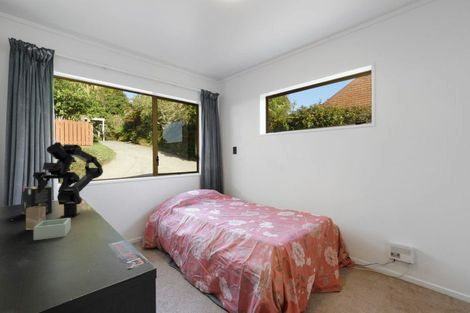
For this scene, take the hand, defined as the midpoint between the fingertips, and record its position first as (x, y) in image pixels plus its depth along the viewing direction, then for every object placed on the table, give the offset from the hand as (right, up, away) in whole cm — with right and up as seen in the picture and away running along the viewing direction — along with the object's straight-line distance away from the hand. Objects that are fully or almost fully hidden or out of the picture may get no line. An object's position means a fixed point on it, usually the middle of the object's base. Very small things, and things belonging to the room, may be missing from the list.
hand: (48, 192), depth 102 cm
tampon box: (-22, -15, +18) cm, 32 cm away
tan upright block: (-1, -15, -6) cm, 16 cm away
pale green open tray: (+13, -15, -13) cm, 24 cm away
